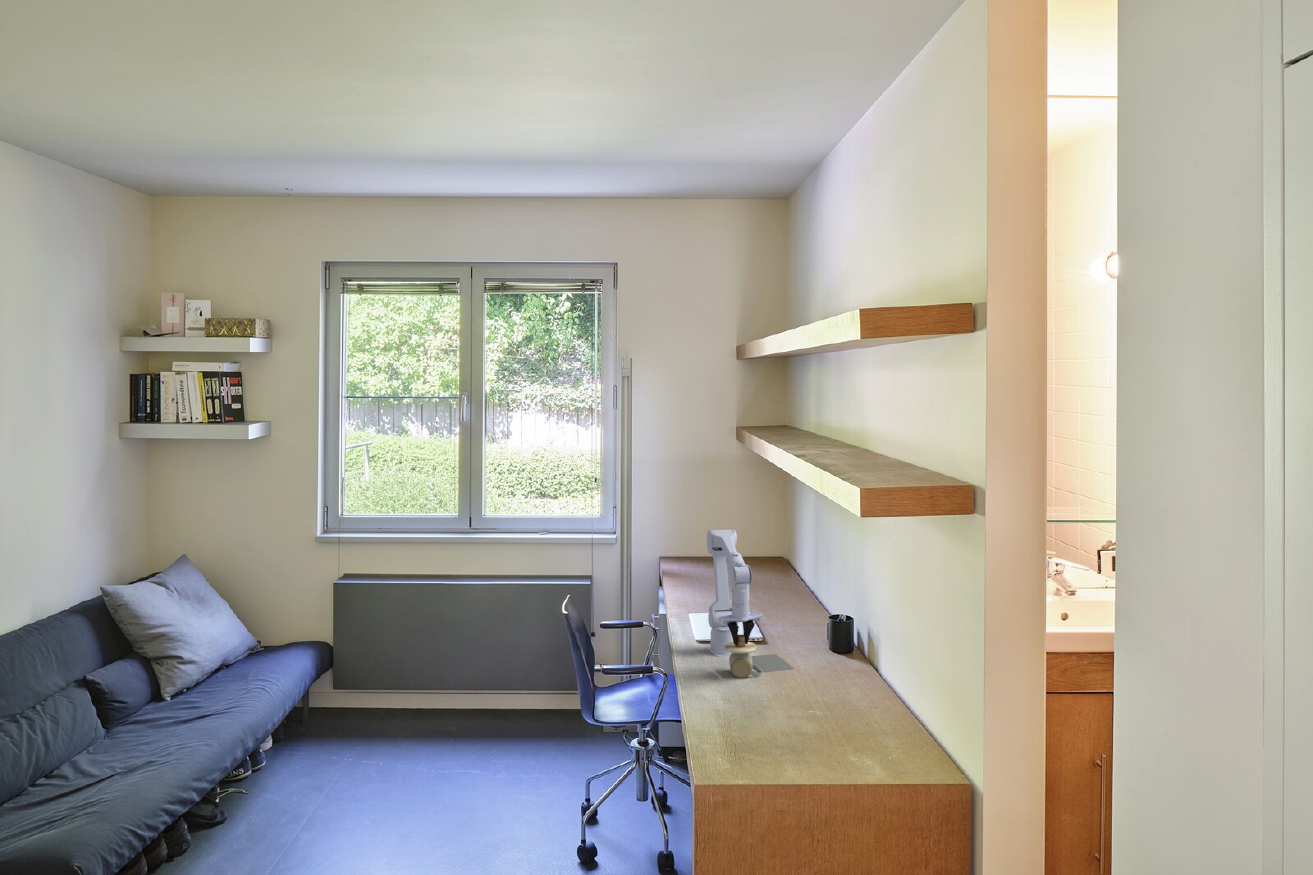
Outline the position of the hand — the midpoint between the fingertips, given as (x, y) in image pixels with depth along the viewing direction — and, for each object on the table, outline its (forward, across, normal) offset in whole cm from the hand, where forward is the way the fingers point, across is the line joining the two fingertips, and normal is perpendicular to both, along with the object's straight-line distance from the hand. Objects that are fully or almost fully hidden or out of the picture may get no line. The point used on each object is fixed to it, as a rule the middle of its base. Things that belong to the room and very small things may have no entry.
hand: (740, 643), depth 268 cm
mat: (+10, +13, +7) cm, 18 cm away
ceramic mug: (+11, +1, -1) cm, 11 cm away
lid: (+2, 0, 0) cm, 2 cm away
